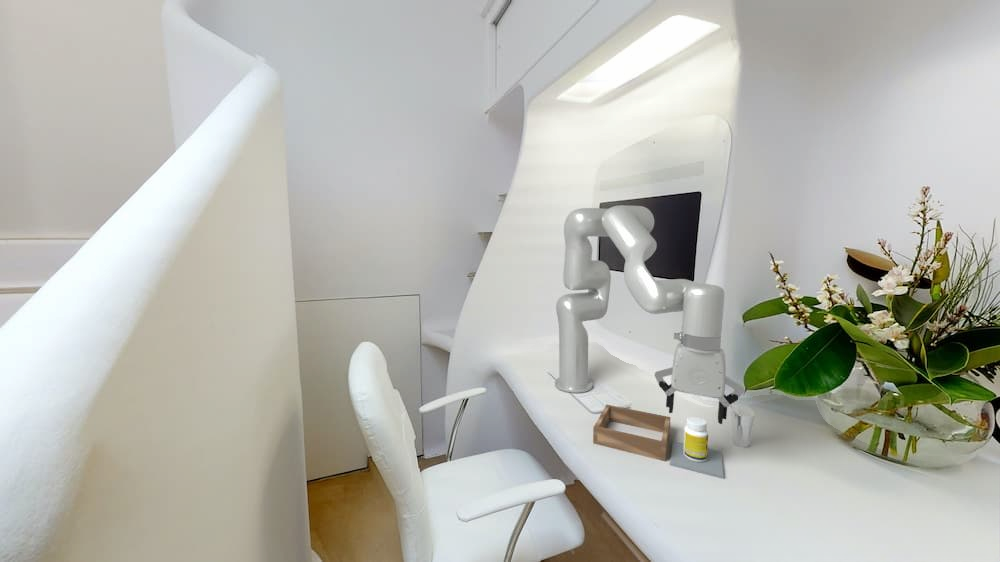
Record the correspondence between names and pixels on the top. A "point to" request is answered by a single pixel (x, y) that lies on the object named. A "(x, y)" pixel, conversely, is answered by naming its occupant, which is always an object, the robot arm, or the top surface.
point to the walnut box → (631, 441)
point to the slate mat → (708, 467)
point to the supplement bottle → (695, 439)
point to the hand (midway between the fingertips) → (694, 415)
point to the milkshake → (742, 424)
